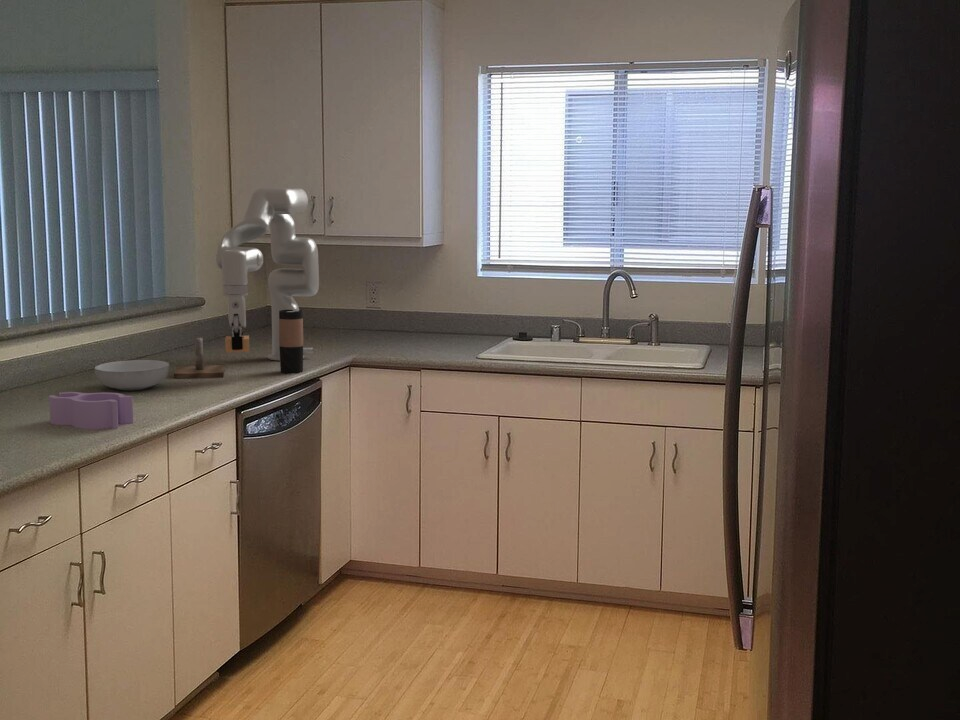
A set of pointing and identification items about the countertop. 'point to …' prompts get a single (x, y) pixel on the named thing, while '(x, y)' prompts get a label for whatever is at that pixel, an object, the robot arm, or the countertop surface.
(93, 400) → the clip
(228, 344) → the collar
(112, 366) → the serving bowl
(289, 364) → the travel mug
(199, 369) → the post stand
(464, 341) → the countertop surface
